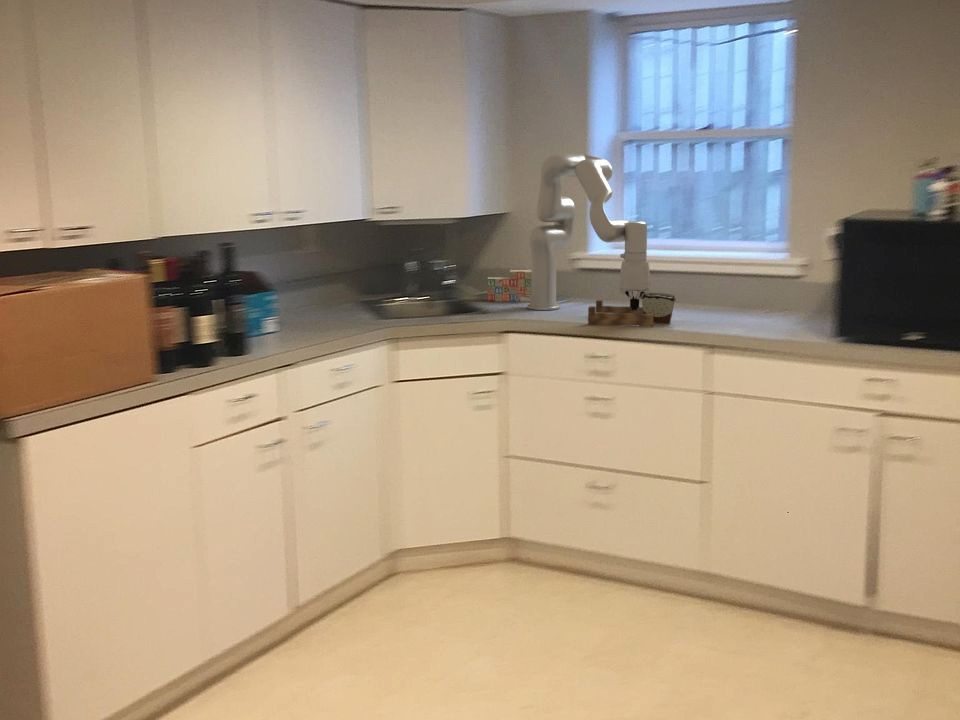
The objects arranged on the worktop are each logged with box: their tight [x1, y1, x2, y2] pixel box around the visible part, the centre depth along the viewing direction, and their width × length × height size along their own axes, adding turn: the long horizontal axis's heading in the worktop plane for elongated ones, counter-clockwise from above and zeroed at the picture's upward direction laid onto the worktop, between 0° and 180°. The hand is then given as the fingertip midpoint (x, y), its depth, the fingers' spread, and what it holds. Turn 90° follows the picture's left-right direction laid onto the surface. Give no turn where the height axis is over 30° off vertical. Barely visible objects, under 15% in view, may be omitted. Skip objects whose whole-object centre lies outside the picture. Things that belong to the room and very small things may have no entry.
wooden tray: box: [587, 299, 654, 327], centre depth 350 cm, size 22×20×6 cm
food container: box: [640, 292, 677, 325], centre depth 346 cm, size 12×6×10 cm, turn 69°
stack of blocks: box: [486, 269, 531, 302], centre depth 405 cm, size 21×6×12 cm, turn 87°
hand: (634, 309), depth 348 cm, fingers closed
